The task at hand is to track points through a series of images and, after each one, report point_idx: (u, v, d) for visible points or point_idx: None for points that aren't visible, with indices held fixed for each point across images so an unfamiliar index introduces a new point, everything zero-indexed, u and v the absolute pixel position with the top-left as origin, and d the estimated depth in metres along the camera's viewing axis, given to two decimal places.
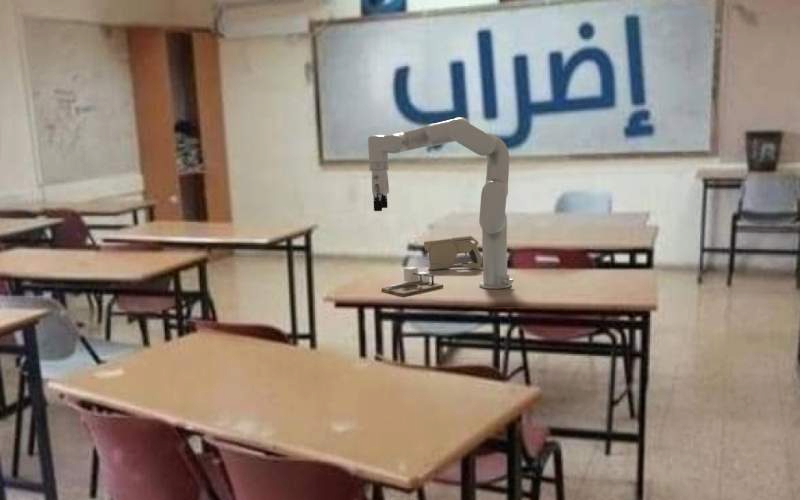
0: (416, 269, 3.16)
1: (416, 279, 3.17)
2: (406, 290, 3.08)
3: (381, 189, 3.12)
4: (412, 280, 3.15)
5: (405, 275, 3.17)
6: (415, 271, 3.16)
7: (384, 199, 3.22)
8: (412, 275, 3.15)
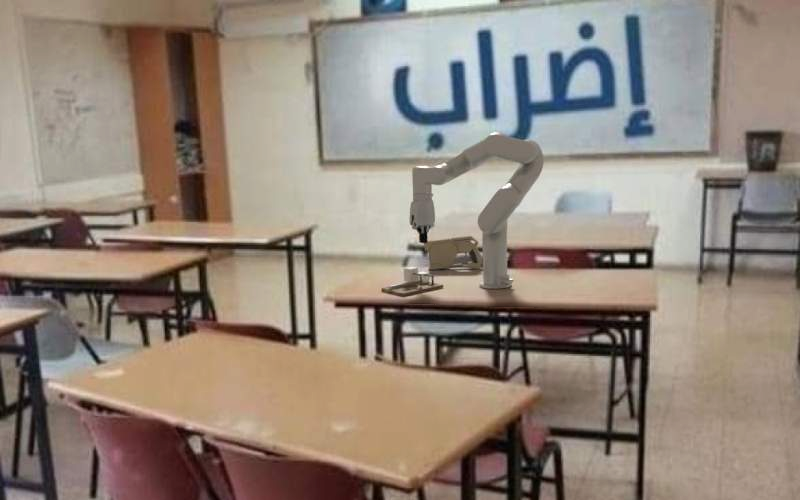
0: (416, 269, 3.16)
1: (416, 279, 3.17)
2: (406, 290, 3.08)
3: None
4: (412, 280, 3.15)
5: (405, 275, 3.17)
6: (415, 271, 3.16)
7: None
8: (412, 275, 3.15)
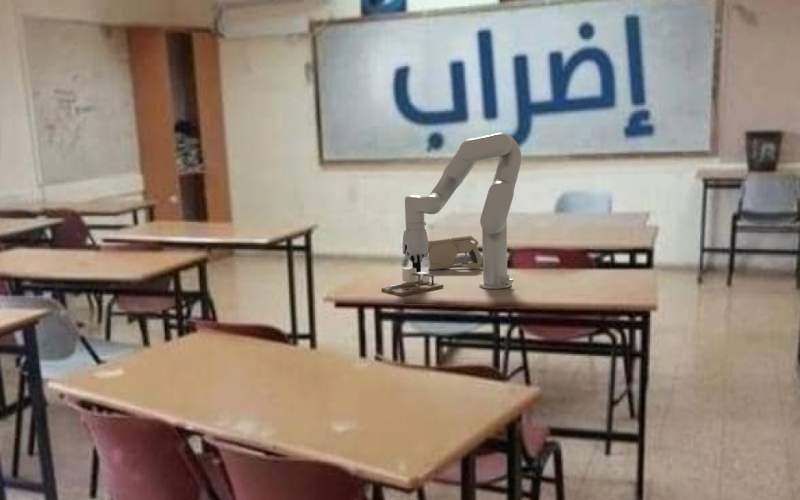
0: (414, 269, 3.16)
1: (414, 279, 3.16)
2: (406, 290, 3.08)
3: None
4: (410, 280, 3.15)
5: (403, 276, 3.16)
6: (413, 271, 3.15)
7: None
8: (410, 275, 3.15)
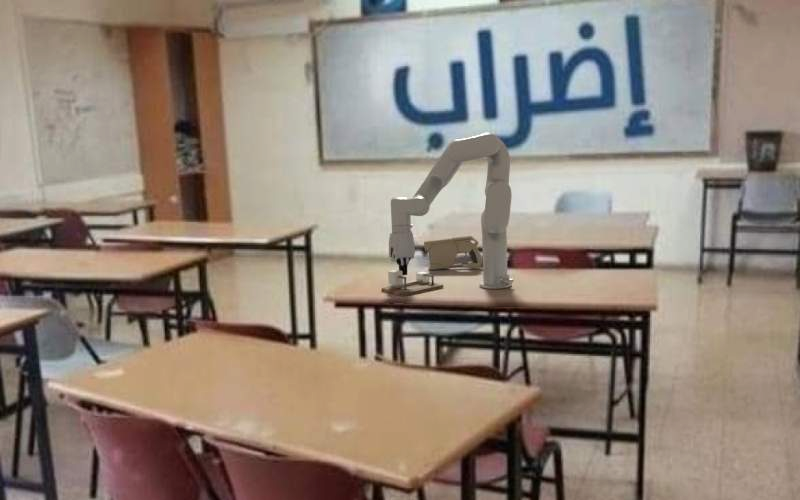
0: (400, 272, 3.11)
1: (400, 282, 3.12)
2: (406, 290, 3.08)
3: None
4: (396, 283, 3.11)
5: (389, 278, 3.12)
6: (399, 274, 3.11)
7: None
8: (396, 278, 3.10)
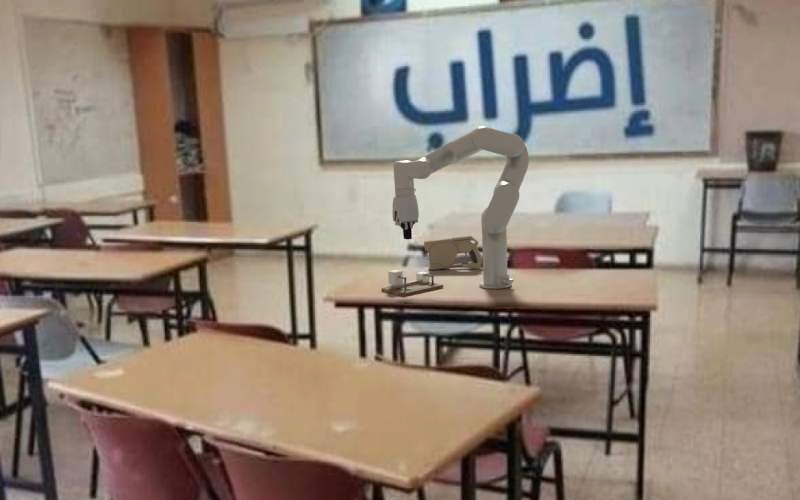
0: (400, 272, 3.11)
1: (400, 282, 3.12)
2: (406, 290, 3.08)
3: None
4: (396, 283, 3.11)
5: (389, 278, 3.12)
6: (399, 274, 3.11)
7: None
8: (396, 278, 3.10)
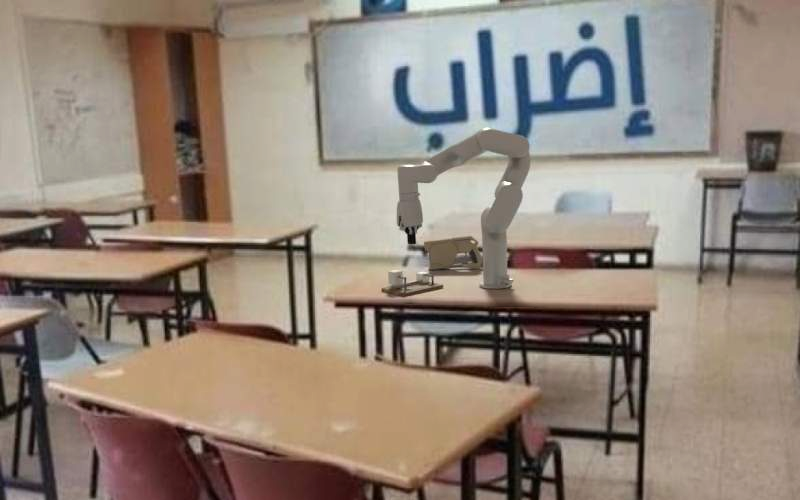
0: (400, 272, 3.11)
1: (400, 282, 3.12)
2: (406, 290, 3.08)
3: None
4: (396, 283, 3.11)
5: (389, 278, 3.12)
6: (399, 274, 3.11)
7: None
8: (396, 278, 3.10)
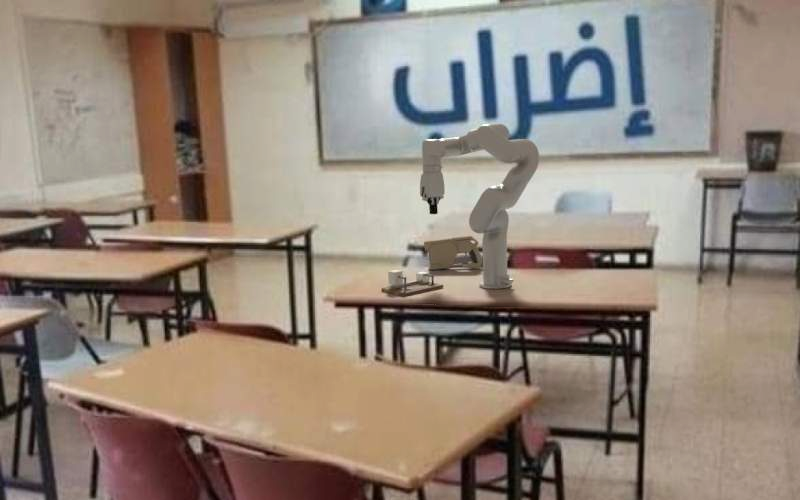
0: (400, 272, 3.11)
1: (400, 282, 3.12)
2: (406, 290, 3.08)
3: None
4: (396, 283, 3.11)
5: (389, 278, 3.12)
6: (399, 274, 3.11)
7: None
8: (396, 278, 3.10)
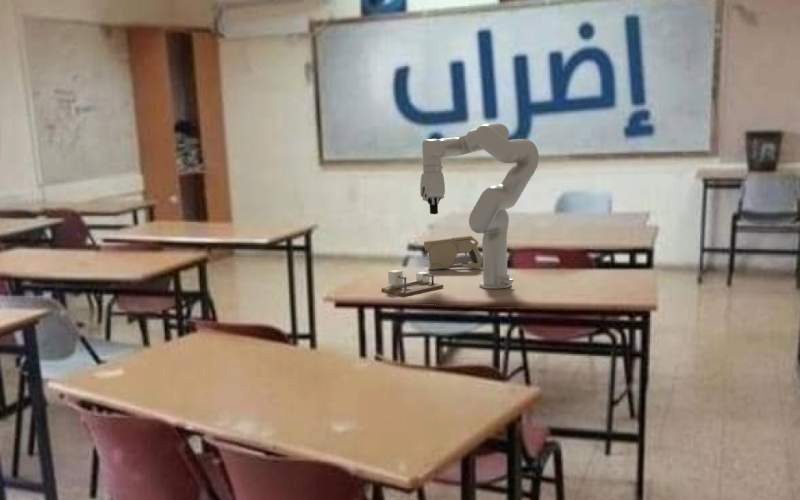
0: (400, 272, 3.11)
1: (400, 282, 3.12)
2: (406, 290, 3.08)
3: None
4: (396, 283, 3.11)
5: (389, 278, 3.12)
6: (399, 274, 3.11)
7: None
8: (396, 278, 3.10)
